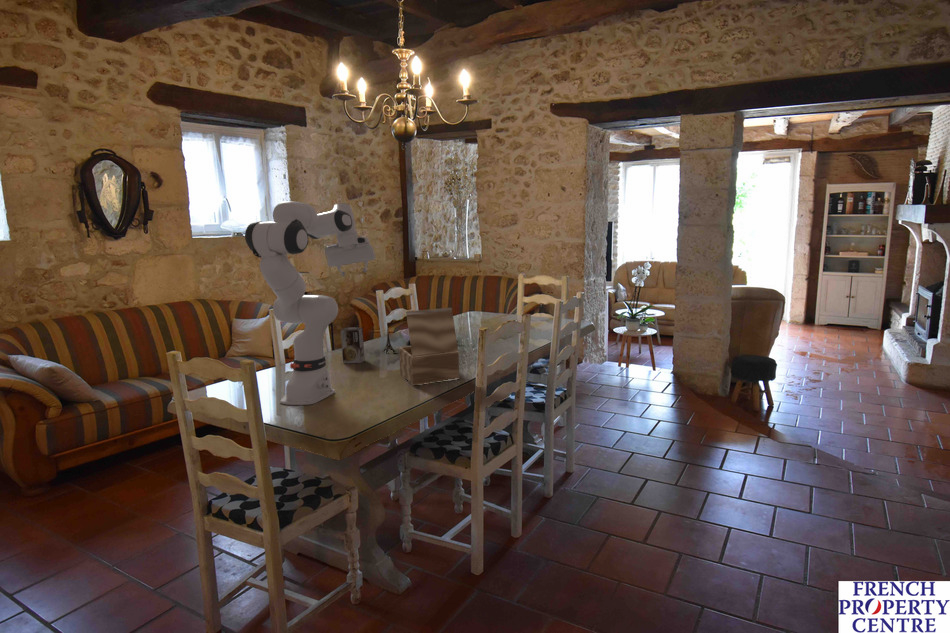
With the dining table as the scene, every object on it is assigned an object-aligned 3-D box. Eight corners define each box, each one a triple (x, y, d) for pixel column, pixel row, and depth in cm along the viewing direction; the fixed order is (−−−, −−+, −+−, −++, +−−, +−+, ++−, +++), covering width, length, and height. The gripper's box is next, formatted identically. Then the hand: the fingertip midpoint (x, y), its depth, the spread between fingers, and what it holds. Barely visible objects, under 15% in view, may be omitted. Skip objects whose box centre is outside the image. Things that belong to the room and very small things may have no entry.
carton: (400, 374, 251) (398, 347, 248) (443, 368, 258) (442, 342, 256) (412, 386, 232) (411, 357, 230) (459, 379, 240) (458, 351, 237)
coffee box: (365, 359, 277) (363, 327, 274) (361, 363, 271) (359, 329, 268) (346, 359, 278) (344, 327, 275) (342, 363, 272) (340, 329, 269)
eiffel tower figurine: (370, 354, 290) (368, 328, 287) (379, 350, 299) (378, 324, 297) (397, 356, 285) (396, 329, 283) (405, 351, 295) (404, 325, 292)
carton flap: (406, 311, 233) (406, 311, 232) (451, 307, 240) (451, 307, 239) (412, 356, 230) (412, 356, 230) (457, 350, 237) (458, 350, 237)
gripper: (322, 245, 242) (328, 278, 243) (370, 237, 243) (377, 269, 244) (325, 246, 248) (331, 278, 249) (372, 238, 249) (378, 270, 250)
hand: (354, 274), depth 246 cm, fingers open, 8 cm apart
